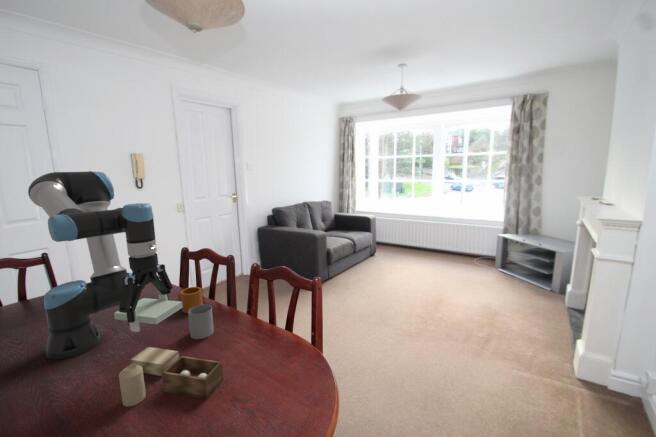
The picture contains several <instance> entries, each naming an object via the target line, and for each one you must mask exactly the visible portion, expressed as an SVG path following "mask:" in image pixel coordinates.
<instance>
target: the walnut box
mask: <svg viewBox="0 0 656 437" xmlns="http://www.w3.org/2000/svg"><path fill="white" fill-rule="evenodd" d="M184 370H188V371H189V372H190V373H191V376H188V375H182V374H180V373H181V372H182V371H184ZM201 373H206V374H207V376H206V377H205V378H200V377H198V376H199V375H200V374H201ZM223 373H224V372H223V362H222V361H219V360H218V361H217V360H211V359H207V358H205V359H204V358H198V357H193V356H191V357H190V356H186V355H181V356H179V359H177V360H176V361H175V362H174V363H173V364H172V365H170V366H169V367H168V368H167V369H166V370H165V371H164V372H162V376H161V377H162V384H163V391H164V393H169V394H170V393H171V394H174V395H175V394H176V395H182V396H187V397H192V398H197V399H203V400H208V399H209V397H211V395H213V393H214V392H215V390H216V389H217V388H218V387H219V385H220V384H221V383H222V382H223V380H224V375H223Z"/></svg>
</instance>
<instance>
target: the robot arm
mask: <svg viewBox="0 0 656 437" xmlns="http://www.w3.org/2000/svg"><path fill="white" fill-rule="evenodd" d="M114 191H115V189H114V186H113V183H112V180H111V179H110V177H109V176H108V175H107V173H104V172H102V171H92V170H89V171H54V172H48V173H45V174H43V175H41V176H39V177H37V178H35V179H34V180H32V182H31V183H30V185H29V186H28V191H27V194H28V197H29V199H30V200H31V202H32V203H33V204H34V205H36V206H37V207H40V208H42V210H43V211H44V212H45V214H47V216H48V218H47V227H48V228H47V229H48V234H49V235H50V238H51V239H52V241H54V242H56V243H59V242H73V241H75V240H82V239H86V243H87V246H88V251H89V256H90V260H91V264H92V269H93V273H92V274H91V276H90V277H89V278H90V279H89V280H90V282H86V281H85V280H81V279H80V280H79V279H77V280H75V281H73V280H71V281H69V282H67V281H66V282H65V283H62V284H59V285H56V286H55V287H52V288H51V289H49V290H48V291H47V292H46V293H45V294H44V295H43V304H44V305H43V308H44V310H45V314H46V321H47V326H48V332H49V334H48V337H47V338H48V339H47V343H46V347H45V350H44V351H45V356H46V358H47V359H49V360H65V359H70V358H72V357H76V356H80V355H82V354H84V353H87V352H88V351H90V350H92V349H93V348H95V347H97V346H98V345H99V343H100V342H101V336H100V335H101V334H100V332H99V331H98V329H97V328H96V326H95V324H94V323H93V321H92V315H93V314H94V315H95V314H97V313H100V312H104V311H107V310H110V309H113V308H116V307H119V309H118V311H119V312H122V313H127V323H129V330H130V332H135V333H136V332H137V333H140V331H141V325H140V322H139V317H138V310H135V309H136V306H137V303H138V301H139V300H140V296H141V294H142V291H143V290H144V288H145V287H146V286H147V285H148V284H152V285H153V286H154V287H155V288H156V289H157V290H158V292H159V294H158V299H159V300H169V294H171V292H172V291H171V290H173V283H171V280H170V278H169V276H168V273H167V271H166V264H160V263H159V258H158V253H157V242H156V241H157V240H156V233H155V231H156V230H155V222H154V221H155V220H154V217H155V216H154V212H153V207H152V205H151V204H150V203H146V202H145V203H142V202H141V203H139V202H138V203H129V204H128V203H127V204H125V205H123V207H117V208H115V209H108V208H109V206H110V205H111V201H112V200H114V199H115V192H114ZM121 233H122V234H123V233H125V239H126V240H125V241H126V248H127V249H126V250H127V255H128V256H129V257H128V265H129V269H130V270H131V272H128V271H127V268H126V267H123V266H122V265H121V262H120V257H119V252H118V248H117V244H116V241H115V236H114V235H117V234H121ZM169 301H170V300H169ZM130 307H131V308H130Z"/></svg>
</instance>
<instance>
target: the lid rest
mask: <svg viewBox="0 0 656 437" xmlns="http://www.w3.org/2000/svg"><path fill="white" fill-rule="evenodd" d="M179 358H180V353H179V350H172V349H167V348H157V347H153V346H152V347H151V346H148V347H146V348H145V349H143V350H142V351H140V352H139V353H137V354H136V355H134V356H133V357H132V358H131V359H130V364H133V363H134V364H136V365H139V366H142V368H143V374H147V375H152V376H153V375H154V376H161V377H162V372H164V371H165V370H166V369H167V368H168V367H169V366H170V365H172V364H173V363H174V362H175V361H176V360H177V359H179Z"/></svg>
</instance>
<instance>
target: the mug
mask: <svg viewBox="0 0 656 437" xmlns="http://www.w3.org/2000/svg"><path fill="white" fill-rule="evenodd" d="M177 299H178V301H179V302H182V306H183V308H181V311H182V313H184V314H188V311H189V309H191V308H192V307H194V306H197V305H204V303H203V289H202V287H199V286H191V287H186V288H183V289H182V290H180V291H179V292H178V295H177Z"/></svg>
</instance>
